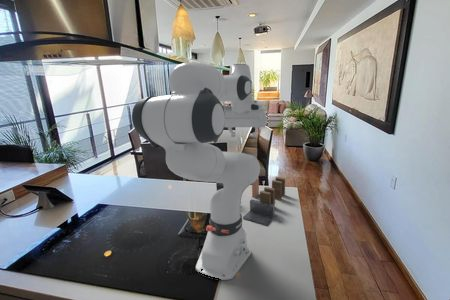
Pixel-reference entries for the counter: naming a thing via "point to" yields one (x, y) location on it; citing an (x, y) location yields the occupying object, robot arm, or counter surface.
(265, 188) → the tile
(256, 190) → the tile
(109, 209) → the counter surface
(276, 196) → the tile
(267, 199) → the tile
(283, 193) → the end tile
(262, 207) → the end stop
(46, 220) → the counter surface
